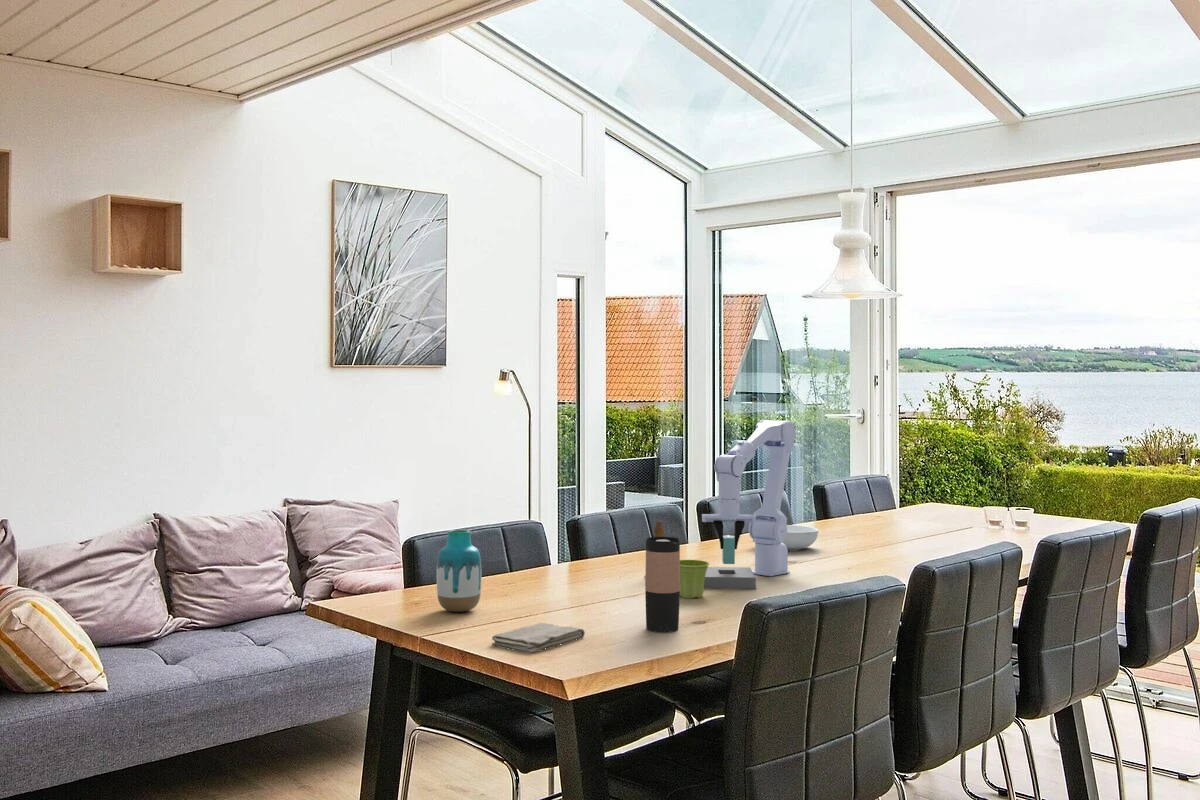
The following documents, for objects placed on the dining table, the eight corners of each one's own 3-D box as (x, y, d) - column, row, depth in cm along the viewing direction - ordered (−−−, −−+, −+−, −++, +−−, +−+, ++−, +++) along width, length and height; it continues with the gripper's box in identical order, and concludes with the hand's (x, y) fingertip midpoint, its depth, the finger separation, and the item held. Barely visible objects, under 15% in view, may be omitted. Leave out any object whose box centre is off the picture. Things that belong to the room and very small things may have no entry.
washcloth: (488, 648, 226) (488, 633, 226) (542, 632, 241) (542, 618, 241) (533, 657, 219) (533, 641, 219) (585, 639, 234) (585, 625, 234)
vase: (462, 617, 252) (462, 535, 252) (427, 612, 258) (427, 531, 258) (490, 609, 261) (490, 530, 261) (455, 604, 267) (456, 526, 267)
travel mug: (643, 625, 246) (643, 536, 245) (676, 624, 246) (677, 536, 246) (647, 633, 238) (647, 541, 238) (682, 632, 239) (682, 541, 238)
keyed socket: (699, 577, 306) (699, 566, 306) (749, 578, 305) (750, 567, 305) (702, 588, 290) (702, 576, 290) (755, 588, 289) (755, 577, 289)
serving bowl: (823, 553, 350) (823, 532, 350) (758, 553, 350) (758, 532, 350) (812, 544, 371) (812, 524, 370) (750, 543, 371) (750, 523, 371)
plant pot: (712, 594, 282) (713, 560, 282) (704, 601, 273) (704, 566, 273) (677, 591, 285) (677, 558, 285) (668, 598, 276) (668, 564, 276)
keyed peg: (722, 560, 301) (722, 534, 300) (733, 560, 300) (733, 535, 300) (723, 564, 296) (723, 537, 295) (734, 564, 295) (734, 537, 295)
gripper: (702, 500, 294) (702, 550, 294) (757, 500, 293) (756, 551, 293) (701, 497, 301) (701, 546, 301) (754, 497, 300) (754, 547, 300)
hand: (728, 548), depth 297 cm, fingers closed on keyed peg, 3 cm apart
